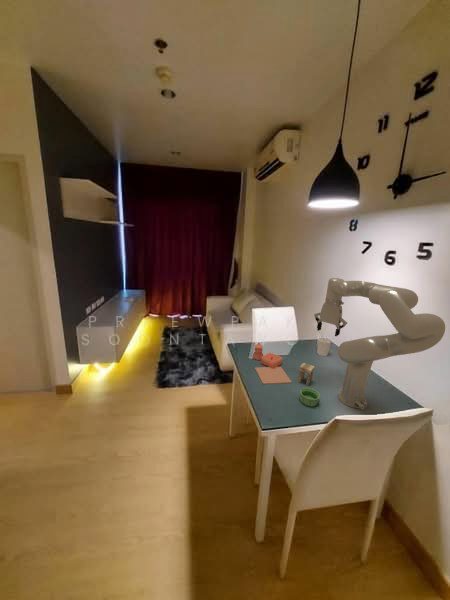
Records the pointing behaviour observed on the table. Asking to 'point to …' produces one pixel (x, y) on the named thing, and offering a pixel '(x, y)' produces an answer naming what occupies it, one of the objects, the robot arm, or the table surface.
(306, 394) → the ramekin
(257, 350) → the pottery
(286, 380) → the mat
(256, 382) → the table surface
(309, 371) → the stool
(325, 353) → the white cup
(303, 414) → the table surface
